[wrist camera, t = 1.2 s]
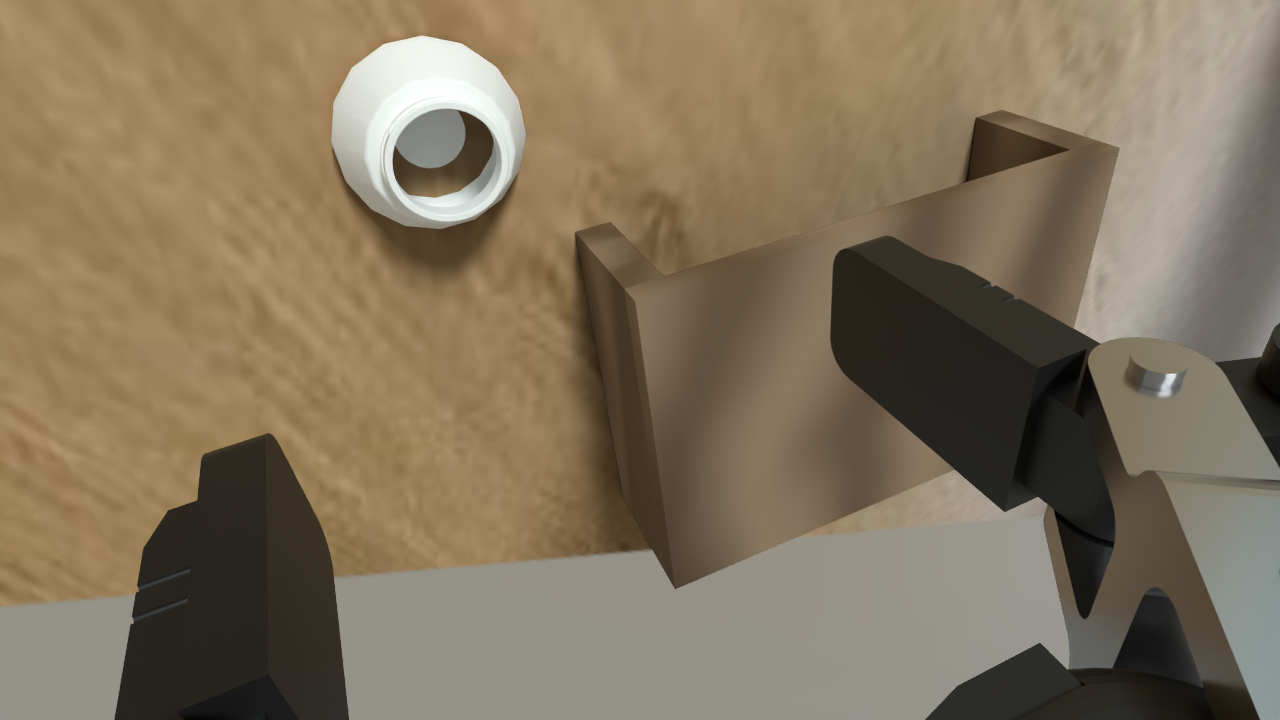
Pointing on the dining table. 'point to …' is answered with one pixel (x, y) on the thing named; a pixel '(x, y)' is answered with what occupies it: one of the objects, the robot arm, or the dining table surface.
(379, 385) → the dining table surface
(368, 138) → the white jar
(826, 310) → the low shelf
